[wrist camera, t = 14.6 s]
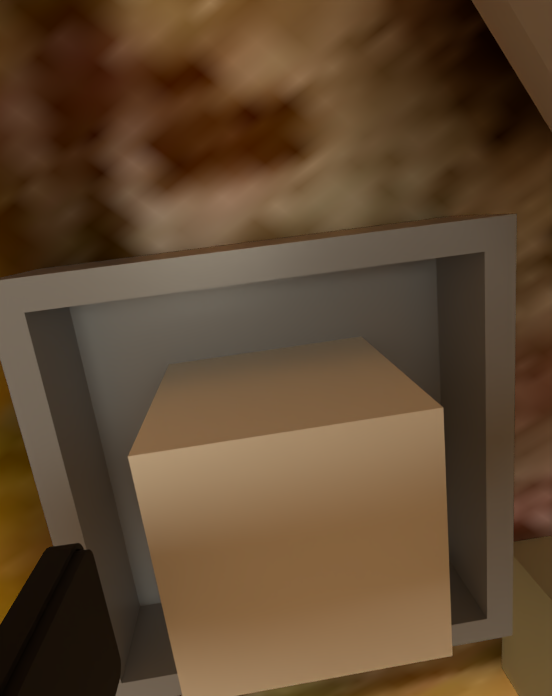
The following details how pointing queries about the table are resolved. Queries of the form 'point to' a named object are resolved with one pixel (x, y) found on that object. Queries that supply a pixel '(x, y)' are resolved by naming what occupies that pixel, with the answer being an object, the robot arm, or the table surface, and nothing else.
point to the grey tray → (259, 335)
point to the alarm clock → (525, 44)
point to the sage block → (531, 619)
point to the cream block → (295, 517)
